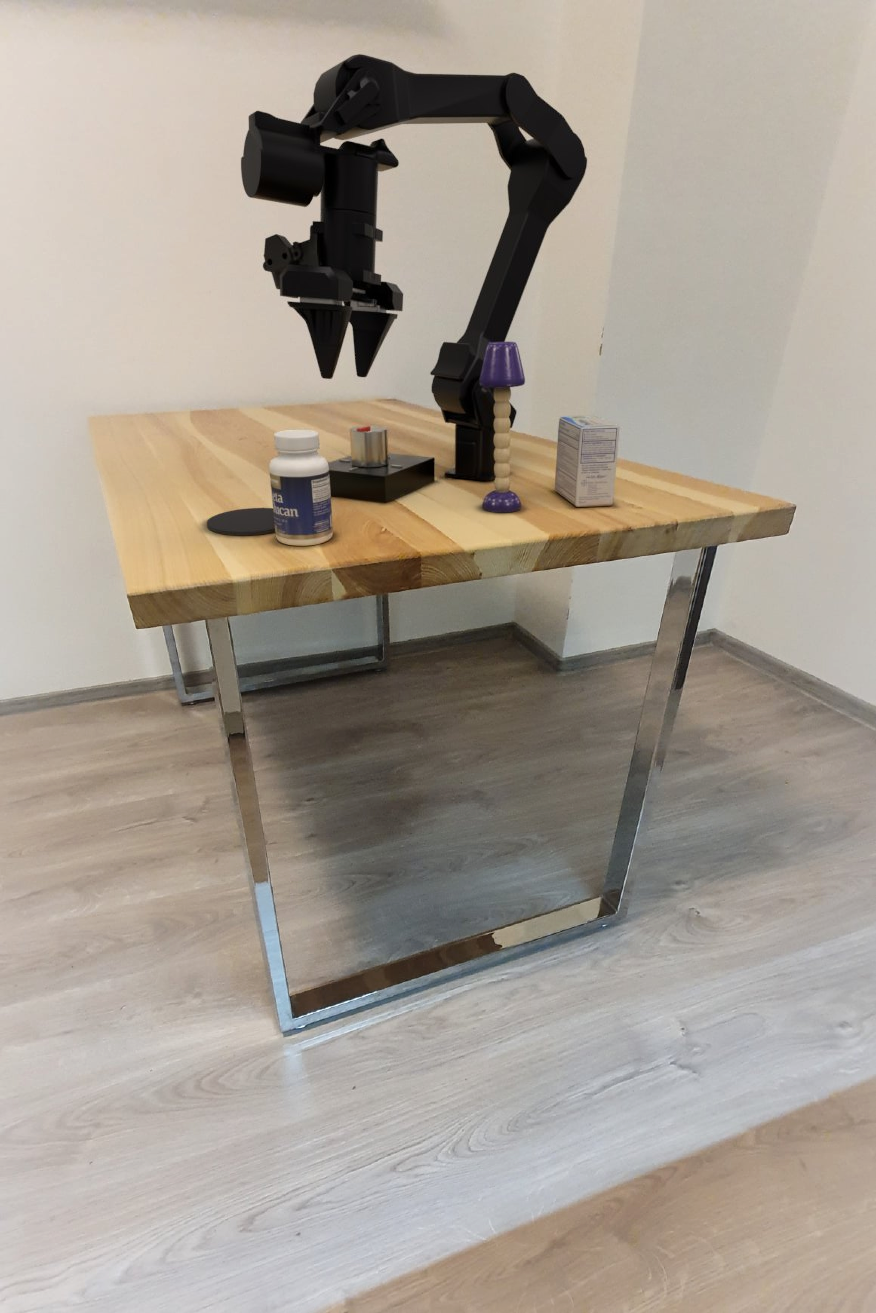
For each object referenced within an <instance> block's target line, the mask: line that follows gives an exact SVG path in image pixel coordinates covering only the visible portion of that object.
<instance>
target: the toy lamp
mask: <svg viewBox="0 0 876 1313" xmlns="http://www.w3.org/2000/svg"><path fill="white" fill-rule="evenodd" d="M525 378H526V377H525V372H524V368H523V364H522V359H521V354H520V350H519V347H518V344H517V342H515V341H505V342H491V343H489V344H488V345H487V348H486V352H485V356H484V361H483V365H482V370H481V374H480V380H479V384H480V386H482V387H487V388H494V399H495V404H494V415H495V419H494V430H495V435H494V445H495V447H496V448H495V450H494V460H495V462H496V463H495V465H494V473H495V476H496V478H495V479H493V486H494V490H492V491H490V492H489V493H487V494H486V496H485V497H484V498H483V501H482V504H481V505H482V506H481V508H482V510H485V511H488V512H491V513H513V512H517V511H519V510H521V508H522V502H521V499H520V497H519V496H518V494H517V493H515V492H514V491H513V490H510V489H511V478H510V475H511V465H510V460H511V450H510V446H511V439H512V438H511V434H510V430H511V428H510V426H511V423H510V419H509V415H510V412H511V406H510V403H511V402H510V400H511V397H512V390H511V388H517V387H521V386H524V385H525V383H526V379H525ZM509 402H510V403H509Z"/></svg>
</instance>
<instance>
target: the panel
mask: <svg viewBox="0 0 876 1313" xmlns="http://www.w3.org/2000/svg"><path fill="white" fill-rule="evenodd" d="M388 454H389V464H388V465H385V466H381V467H357V466H354V465H352V463H351V455H348V456H345V457H342V458H339V459H335V460H332V461H329V462H328V466H329V477H330V493H331V497H336V498H344V499H349V500H350V499H351V500H359V501H366V502H373V503H374V502H375V503H381V504H387V503H390V502H391V501H394V500H396V499H398V498H401V497H403V496H405V495H408V494H410V493H413V492H414V491H417V490H419V489H422V488H423V487H426V486H429V485H431V484H433V483H435V482H436V480H435V479H436V477H435V476H436V475H435V474H436V473H435V472H436V471H435V470H436V469H435V468H436V467H435V466H436V464H435V462H436V461H435V459H436V458H435V457H431V456H422V455H412V454H402V453H391V452H388Z"/></svg>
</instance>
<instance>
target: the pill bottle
mask: <svg viewBox="0 0 876 1313" xmlns="http://www.w3.org/2000/svg"><path fill="white" fill-rule="evenodd" d="M273 443H274V444H273V445H274V450H275V451H276V452H277V456H275V457H273V458H272V459H271V460H270V461H269V464H268V470H269V480H270V490H271V491H270V492H271V501H272V508H273V512H274V522H275V532H274V533H275V537H276V539H277V541H278V542H279V543H282V544H284V545H288V546H289V545H290V546H299V547H300V546H301V547H304V546H315V545H319V544H322V543H326V542H327V541H329V540H330V539H331V538H332V537H333V534H334V528H333V527H334V525H333V510H332V496H331V493H330V477H329V466H328V463H329V462H328V460H327V459H326V457H324V456H322V455H320V454H319V453H318V451H319V450H320V435H319V432H318V431H316V430H311V429H287V430H280V431H276V432H274V433H273Z"/></svg>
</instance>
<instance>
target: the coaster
mask: <svg viewBox="0 0 876 1313" xmlns="http://www.w3.org/2000/svg"><path fill="white" fill-rule="evenodd" d="M206 527H207V529H208V530H209V531H211V532H214V533H216V534H221V535H225V536H240V537H241V536H243V537H245V536H260V535H268V534H274V533H276V532H275V522H274V512H273V507H251V508H250V507H249V508H240V509H234V510H233V509H232V510H228V511H223V512H221V513H218V514H215V515H213V516H211V517H210V518H208V519H207V521H206Z"/></svg>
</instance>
